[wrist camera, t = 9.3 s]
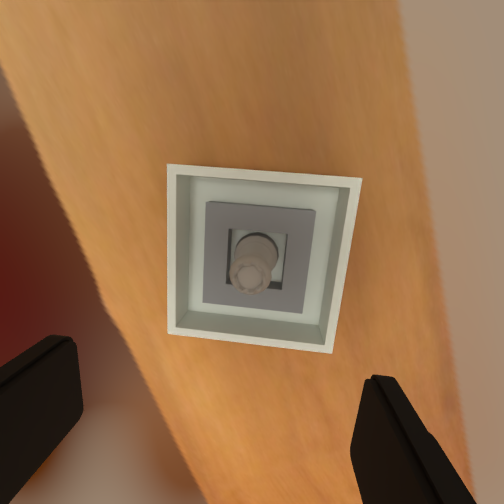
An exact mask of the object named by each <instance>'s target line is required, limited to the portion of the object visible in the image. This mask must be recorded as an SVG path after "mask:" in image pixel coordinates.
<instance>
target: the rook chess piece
mask: <svg viewBox="0 0 504 504" xmlns="http://www.w3.org/2000/svg"><path fill="white" fill-rule="evenodd" d="M278 257H279V255H278V247H277V245H276V243H275V242H274V240H273V239H272V238H270V237H269V236H268V235H266V234H263V233H260V232H256V233H249V234H247V235H245V236H243V237H242V238H241V239H240V240H239V242H238V243H237V245H236V248H235V252H234V258H235V261H234V262H233V263H232V265H231V268H230V271H229V275H230V281H231V283H232V284H233V286H234V287H235V288H236V289H237V290H238V291H239V292H240V293H244V294H248V295H254V294H258V293H260V292H262V291H264V290H265V289H266V288H267V287H268V286H269V284H270V281H271V278H272V274H271V271H272V270H273V269H274V268H275V266H276V263H277V260H278Z"/></svg>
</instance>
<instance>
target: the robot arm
mask: <svg viewBox="0 0 504 504" xmlns="http://www.w3.org/2000/svg"><path fill="white" fill-rule="evenodd" d="M82 413H83V399H82V390H81V381H80V371H79V363H78V353H77V346H76V343H75V342H73V339H72V338H71V337H68V336H60V335H49V336H47V337H46V338H44V339H43V340H41V341H40V342H38V343H37V344H35V345H34V346H32V347H30V348H29V349H27V350H26V351H24V352H23V353H21V354H20V355H18V356H17V357H15V358H14V359H12V360H11V361H9V362H8V363H6V364H5V365H3V366H2V367H0V504H9V503H10V501H11V500H12V499H13V498H14V497H15V495H16V494H17V493H18V492H19V491H20V489H21V488H22V487H23V486H24V485H25V483H26V482H27V481H28V480H29V479H30V477H31V476H32V475H33V474H34V473H35V472H36V470H37V469H38V468H39V467H40V466H41V464H42V463H43V462H44V461H45V460H46V459H47V457H48V456H49V455H50V454H51V453H52V451H53V450H54V449H55V448H56V447H57V446H58V444H59V443H60V442H61V441H62V440H63V438H64V437H65V436H66V435H67V434H68V432H69V431H70V430H71V429H72V428H73V427H74V425H75V424H76V423H77V422H78V420H79V419H80V417H81V415H82ZM350 456H351V461H352V465H353V469H354V472H355V476H356V480H357V483H358V487H359V491H360V494H361V498H362V502H363V504H476V502H475V500H474V499H473V497H472V496H471V494H470V493H469V491H468V489H467V488H466V486H465V485H464V483H463V481H462V480H461V478H460V477H459V475H458V473H457V472H456V470H455V469H454V467H453V466H452V464H451V462H450V461H449V459H448V458H447V456H446V454H445V453H444V451H443V450H442V448H441V447H440V445H439V443H438V442H437V440H436V439H435V438H434V436H433V435H432V434H430V433H429V432H428V431H427V429H426V428H425V426H424V424H423V423H422V421H421V419H420V418H419V416H418V415H417V413H416V411H415V410H414V408H413V406H412V405H411V403H410V402H409V400H408V398H407V397H406V395H405V394H404V392H403V390H402V389H401V387H400V385H399V384H398V382H397V381H396V379H395V378H394V377H390V376H382V375H372V376H371V379H366V380H365V383H364V387H363V391H362V396H361V401H360V405H359V410H358V414H357V419H356V423H355V428H354V432H353V437H352V441H351V446H350Z"/></svg>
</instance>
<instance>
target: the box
mask: <svg viewBox="0 0 504 504" xmlns="http://www.w3.org/2000/svg"><path fill="white" fill-rule="evenodd" d="M361 184H362V178H355V177H341V176H328V175H314V174H301V173H287V172H274V171H260V170H247V169H233V168H220V167H206V166H193V165H179V164H167V312H168V334H174V335H182V336H190V337H199V338H207V339H215V340H223V341H232V342H240V343H248V344H256V345H264V346H273V347H281V348H289V349H297V350H305V351H314V352H322V353H330V354H332V351H333V345H334V339H335V333H336V328H337V322H338V316H339V310H340V305H341V299H342V293H343V287H344V282H345V276H346V270H347V264H348V259H349V253H350V247H351V241H352V235H353V230H354V224H355V218H356V212H357V207H358V201H359V195H360V189H361ZM256 232H260V233H263V234H266V235H268V236H269V237H270V238H272V239H273V240H274V242H275V243H276V245H277V247H278V255H279V257H278V260H277V263H276V266H275V268H274V269H273V270H272V271H271V274H272V278H271V281H270V284H269V286H268V287H267V288H266V289H265V290H264V291H262V292H260V293H258V294H254V295H248V294H244V293H240V292H239V291H238V290H237V289H236V288H235V287H234V286H233V284H232V283H231V281H230V275H229V271H230V268H231V265H232V263H233V262H234V261H235V258H234V252H235V248H236V245H237V243H238V242H239V240H240V239H241V238H242V237H243V236H245V235H247V234H249V233H256Z"/></svg>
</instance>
